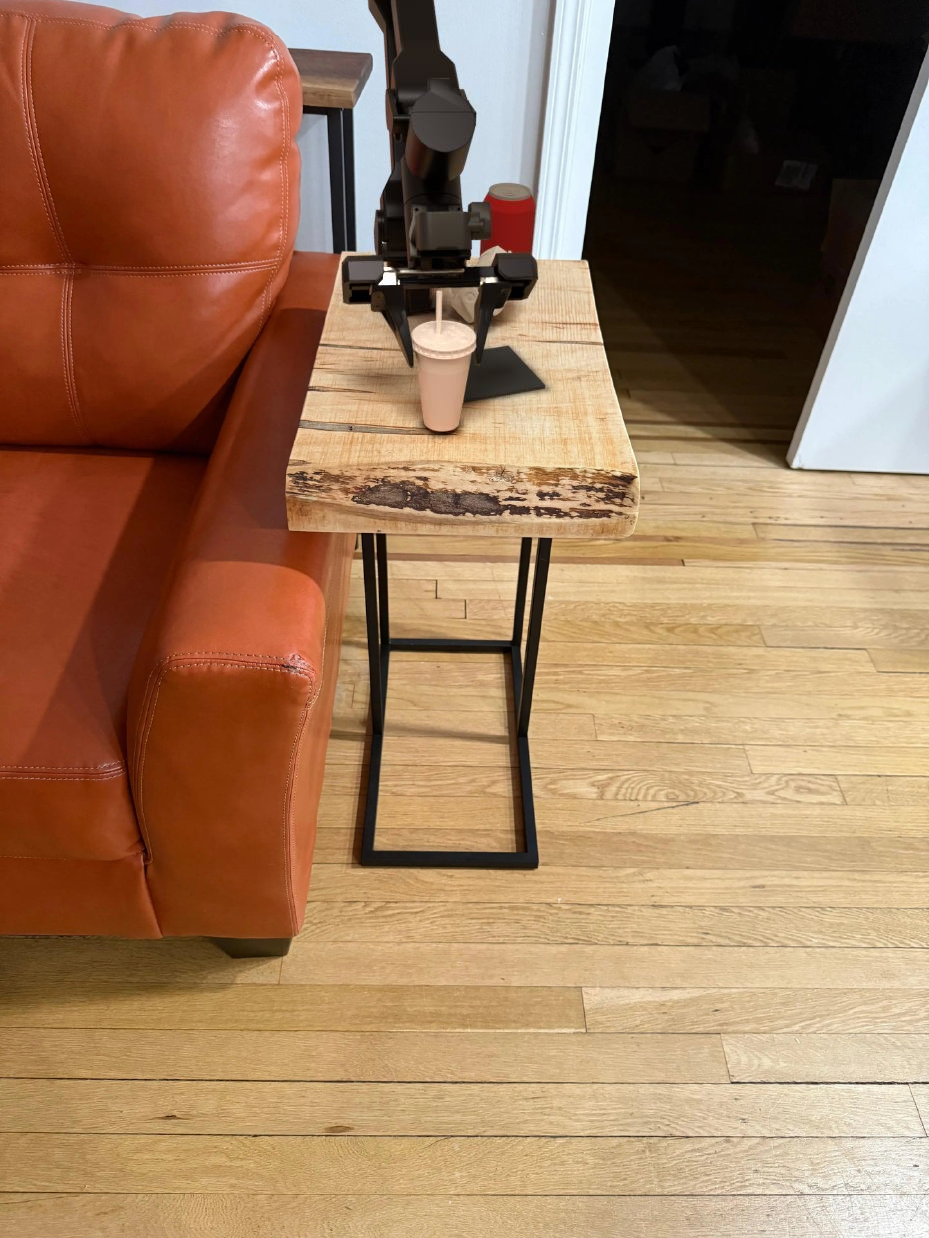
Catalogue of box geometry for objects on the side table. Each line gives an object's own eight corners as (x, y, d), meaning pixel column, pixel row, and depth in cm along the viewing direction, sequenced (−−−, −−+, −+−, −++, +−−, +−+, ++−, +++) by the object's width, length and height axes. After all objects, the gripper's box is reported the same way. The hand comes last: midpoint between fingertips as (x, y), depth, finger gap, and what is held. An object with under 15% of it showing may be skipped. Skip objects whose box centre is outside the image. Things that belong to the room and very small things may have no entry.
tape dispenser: (473, 342, 114) (529, 289, 108) (434, 303, 112) (489, 247, 106) (483, 322, 118) (538, 270, 112) (446, 284, 116) (500, 229, 110)
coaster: (429, 360, 106) (429, 357, 106) (508, 348, 109) (508, 345, 109) (462, 402, 100) (462, 399, 99) (545, 388, 103) (545, 385, 102)
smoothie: (402, 410, 97) (401, 280, 87) (459, 401, 98) (465, 273, 89) (422, 442, 92) (423, 310, 83) (481, 432, 94) (489, 301, 84)
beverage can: (529, 276, 125) (538, 183, 117) (527, 296, 120) (536, 201, 112) (480, 271, 125) (485, 179, 117) (476, 292, 120) (480, 197, 112)
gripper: (336, 165, 80) (349, 342, 80) (544, 164, 83) (557, 335, 83) (337, 222, 92) (348, 378, 91) (520, 220, 94) (531, 371, 94)
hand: (444, 365), depth 89 cm, fingers closed on smoothie, 6 cm apart
